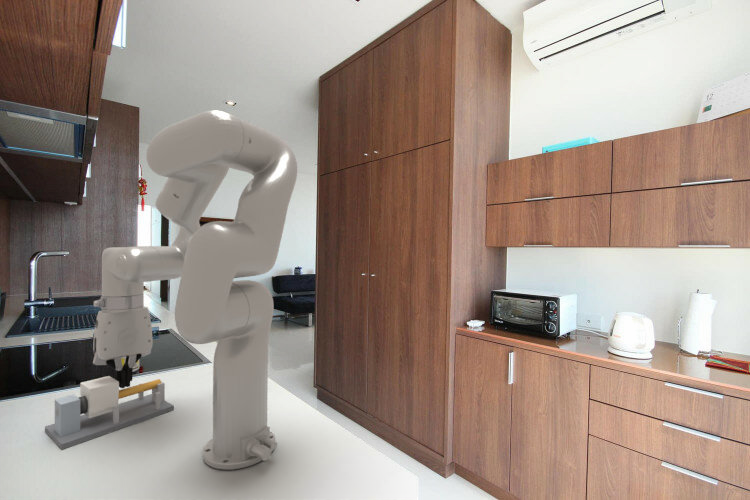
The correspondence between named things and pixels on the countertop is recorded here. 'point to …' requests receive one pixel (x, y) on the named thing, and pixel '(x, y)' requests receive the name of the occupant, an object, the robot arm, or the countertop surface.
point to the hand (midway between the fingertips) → (123, 385)
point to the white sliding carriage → (100, 395)
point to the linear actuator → (105, 414)
